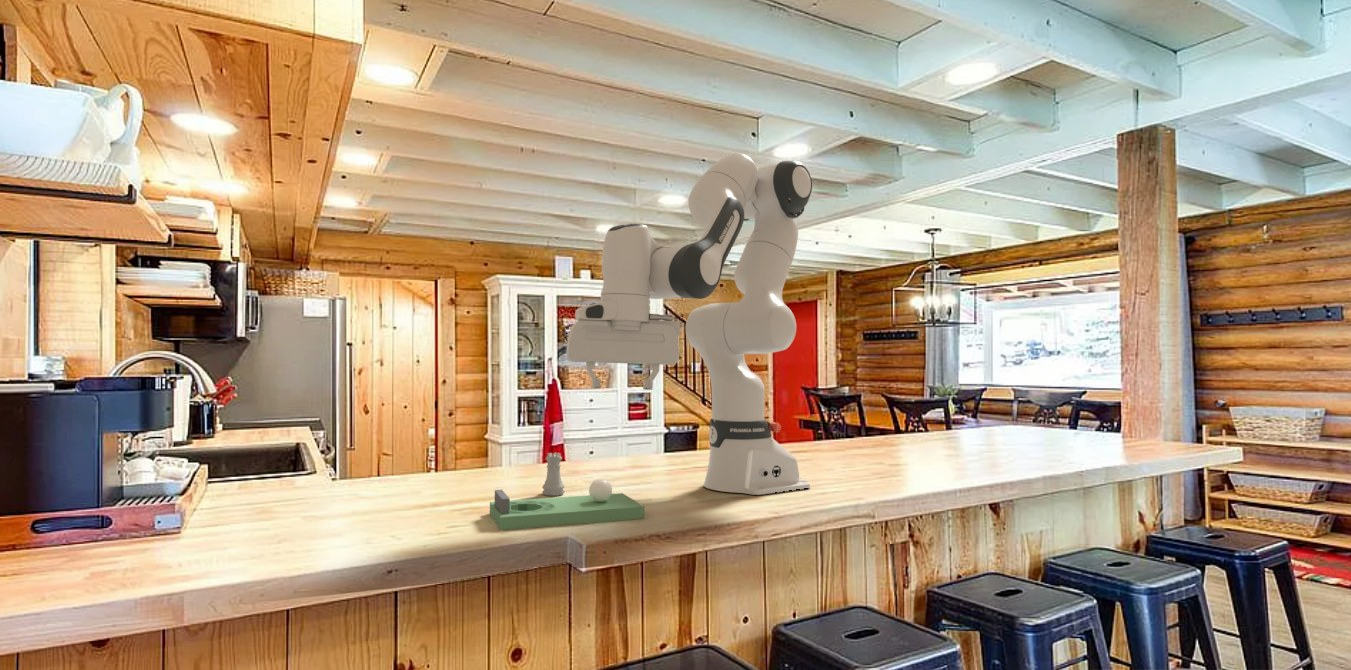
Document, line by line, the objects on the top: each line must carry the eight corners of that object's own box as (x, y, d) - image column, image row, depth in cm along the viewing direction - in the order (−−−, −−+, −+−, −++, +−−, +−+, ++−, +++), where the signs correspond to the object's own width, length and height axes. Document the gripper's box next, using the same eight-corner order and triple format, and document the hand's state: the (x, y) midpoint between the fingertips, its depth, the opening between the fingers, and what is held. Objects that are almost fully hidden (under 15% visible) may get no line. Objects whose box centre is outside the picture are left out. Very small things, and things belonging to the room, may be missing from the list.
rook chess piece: (560, 497, 138) (560, 455, 138) (538, 496, 138) (538, 454, 139) (568, 492, 142) (568, 452, 142) (546, 491, 143) (547, 451, 143)
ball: (608, 498, 127) (608, 476, 127) (614, 503, 123) (615, 480, 123) (586, 500, 125) (586, 477, 125) (592, 505, 122) (592, 481, 122)
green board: (622, 504, 132) (622, 480, 132) (644, 518, 121) (644, 492, 121) (489, 513, 123) (490, 488, 123) (500, 530, 112) (500, 501, 112)
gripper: (676, 316, 134) (673, 389, 134) (566, 310, 129) (563, 387, 129) (684, 314, 128) (682, 391, 127) (570, 308, 123) (567, 388, 122)
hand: (622, 389), depth 128 cm, fingers open, 8 cm apart
